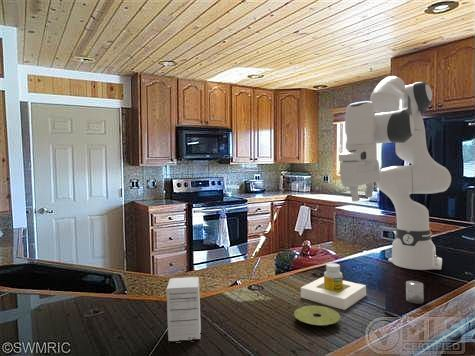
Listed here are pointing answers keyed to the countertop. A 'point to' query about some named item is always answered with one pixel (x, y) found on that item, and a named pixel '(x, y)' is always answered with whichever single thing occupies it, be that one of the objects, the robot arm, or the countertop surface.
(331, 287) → the supplement bottle
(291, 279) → the countertop surface
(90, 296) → the countertop surface
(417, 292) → the short stub
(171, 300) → the supplement box
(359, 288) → the bore plate
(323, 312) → the green disc
